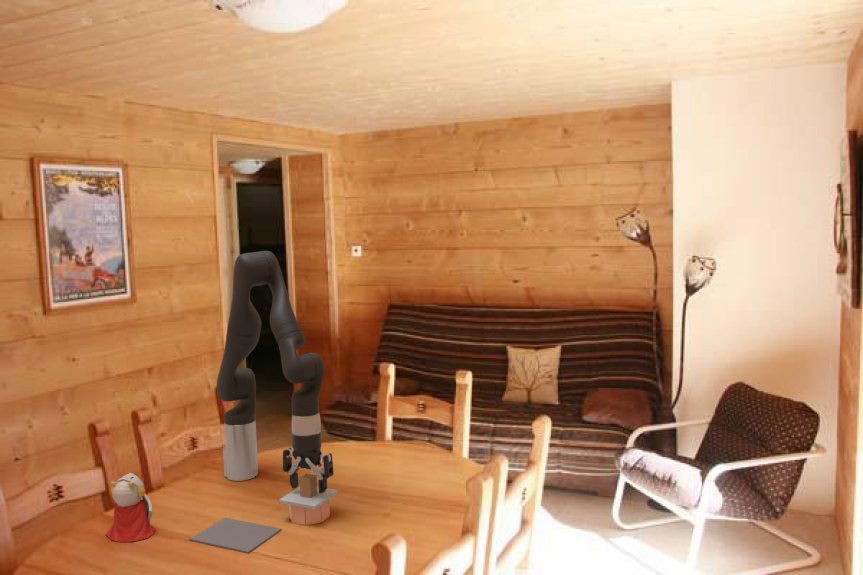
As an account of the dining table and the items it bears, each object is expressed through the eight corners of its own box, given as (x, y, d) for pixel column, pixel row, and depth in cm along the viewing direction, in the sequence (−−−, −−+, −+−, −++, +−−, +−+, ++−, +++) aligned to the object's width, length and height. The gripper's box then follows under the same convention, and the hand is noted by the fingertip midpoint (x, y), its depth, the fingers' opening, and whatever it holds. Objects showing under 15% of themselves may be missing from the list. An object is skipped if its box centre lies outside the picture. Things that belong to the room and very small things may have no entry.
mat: (189, 540, 166) (189, 538, 166) (225, 518, 178) (225, 517, 178) (248, 553, 159) (248, 551, 159) (281, 530, 171) (281, 528, 171)
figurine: (169, 526, 174) (166, 470, 173) (134, 546, 164) (130, 486, 162) (132, 518, 179) (129, 463, 178) (95, 537, 169) (91, 479, 168)
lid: (279, 502, 175) (278, 481, 175) (303, 487, 185) (302, 466, 185) (315, 509, 171) (314, 487, 170) (337, 493, 181) (337, 472, 180)
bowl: (282, 520, 176) (281, 502, 175) (304, 505, 185) (303, 488, 185) (315, 527, 172) (314, 508, 171) (336, 511, 181) (335, 493, 181)
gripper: (275, 431, 176) (277, 491, 177) (321, 437, 170) (323, 499, 171) (292, 423, 183) (294, 481, 184) (337, 428, 177) (339, 488, 178)
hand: (308, 490), depth 178 cm, fingers open, 8 cm apart
